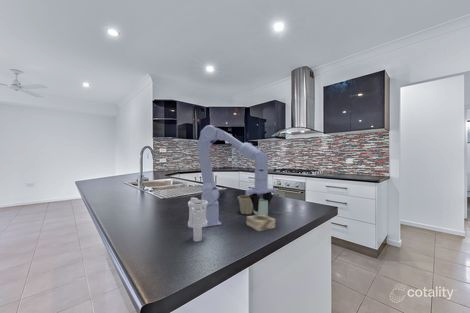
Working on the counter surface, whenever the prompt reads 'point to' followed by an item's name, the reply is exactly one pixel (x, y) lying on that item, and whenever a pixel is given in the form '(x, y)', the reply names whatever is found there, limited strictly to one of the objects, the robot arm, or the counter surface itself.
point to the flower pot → (245, 204)
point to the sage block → (262, 207)
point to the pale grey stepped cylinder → (197, 217)
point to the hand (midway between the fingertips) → (260, 210)
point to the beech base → (261, 222)
